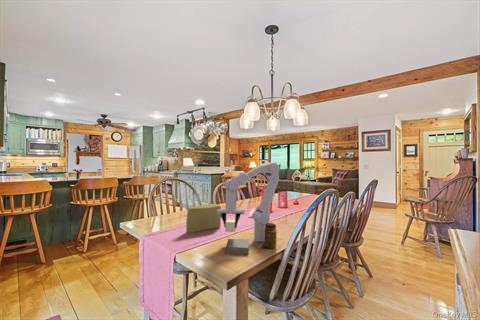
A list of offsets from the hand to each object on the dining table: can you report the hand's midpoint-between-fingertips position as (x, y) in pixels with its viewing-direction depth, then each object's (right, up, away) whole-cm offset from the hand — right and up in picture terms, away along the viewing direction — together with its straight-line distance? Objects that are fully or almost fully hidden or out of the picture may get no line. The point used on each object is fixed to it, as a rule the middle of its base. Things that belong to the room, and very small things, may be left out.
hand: (230, 227), depth 118 cm
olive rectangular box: (-19, -9, +23) cm, 31 cm away
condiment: (+20, -10, -4) cm, 23 cm away
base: (+4, -9, -6) cm, 12 cm away
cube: (0, -2, 0) cm, 2 cm away
